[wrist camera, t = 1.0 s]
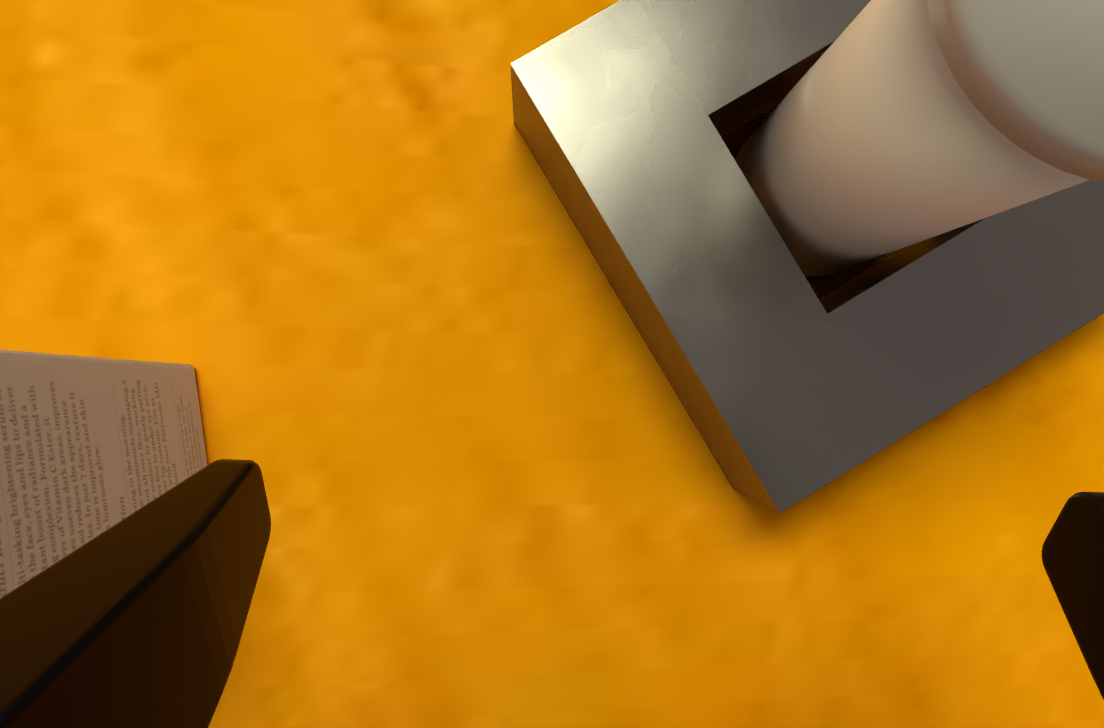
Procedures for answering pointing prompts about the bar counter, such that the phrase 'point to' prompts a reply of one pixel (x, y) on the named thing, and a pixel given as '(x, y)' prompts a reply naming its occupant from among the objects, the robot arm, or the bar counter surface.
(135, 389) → the small box
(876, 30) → the grey peg
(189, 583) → the robot arm
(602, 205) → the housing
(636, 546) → the bar counter surface
